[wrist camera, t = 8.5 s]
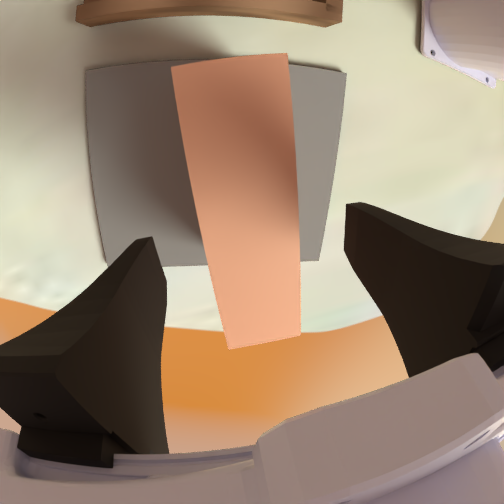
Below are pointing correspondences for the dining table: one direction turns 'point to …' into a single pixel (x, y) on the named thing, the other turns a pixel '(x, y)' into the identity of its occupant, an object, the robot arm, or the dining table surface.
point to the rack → (211, 10)
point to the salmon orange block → (245, 190)
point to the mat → (175, 165)
